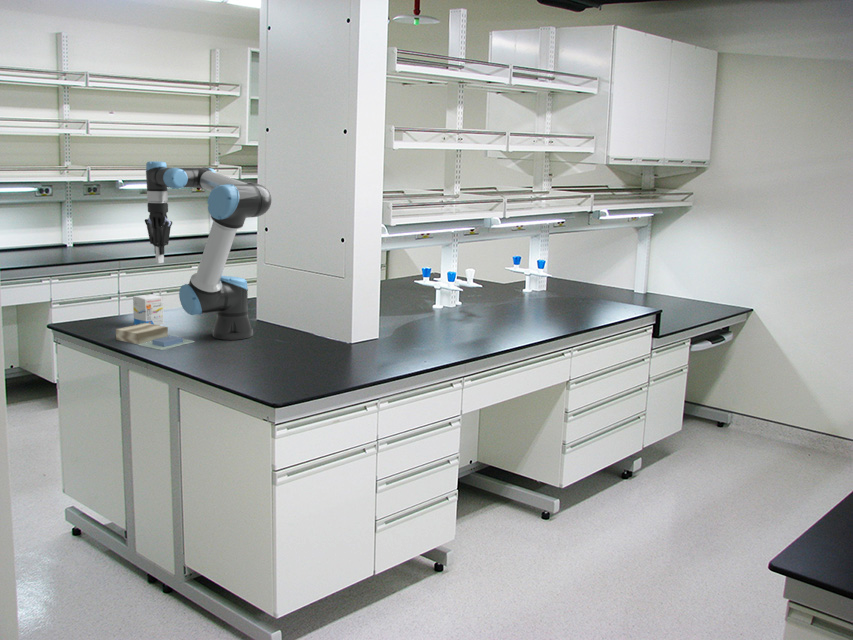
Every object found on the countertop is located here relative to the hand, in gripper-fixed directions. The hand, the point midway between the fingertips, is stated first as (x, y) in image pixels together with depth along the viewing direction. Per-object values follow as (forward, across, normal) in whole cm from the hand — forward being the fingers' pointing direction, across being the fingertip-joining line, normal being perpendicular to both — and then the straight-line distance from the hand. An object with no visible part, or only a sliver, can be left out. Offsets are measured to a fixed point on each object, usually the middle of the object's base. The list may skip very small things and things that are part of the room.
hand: (159, 262), depth 316 cm
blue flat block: (+25, -21, +16) cm, 36 cm away
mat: (+26, -20, +16) cm, 37 cm away
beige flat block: (+26, -7, +16) cm, 32 cm away
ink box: (+27, +10, -2) cm, 29 cm away
